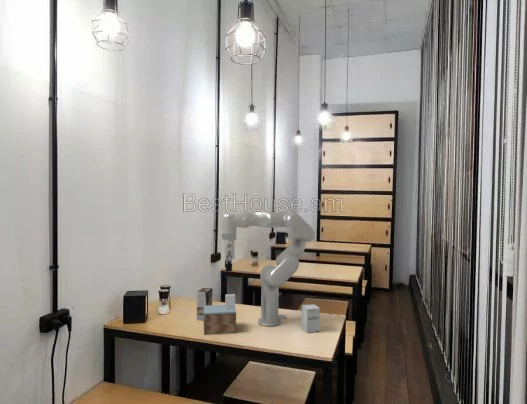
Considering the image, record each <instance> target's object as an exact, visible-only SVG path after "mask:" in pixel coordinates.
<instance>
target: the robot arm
mask: <svg viewBox="0 0 527 404" xmlns="http://www.w3.org/2000/svg"><path fill="white" fill-rule="evenodd" d="M221 219H222V220H221V221H222V225H221V226H222V227H221V229H222V230H221V241H223V253H224V254H223V255H224V268H225V272H226V273H227V272H231V273H232V271H233V261H232V260H235V241H236V240H237V228H243V229H246V228H249V227H261V228H271V229H272V228H290V229H291V230H292V240H291V243H290V244H289V245H288V246H287V247H286V248H285V249H284V250H283V251H281V253H280V254H278V255H277V257H276V259H275V264H276V266H274V265H271V264H265V266H263V267H262V268H261V270H260V285H261V290H260V291H261V292H260V293H261V294H260V299H261V301H260V303H261V304H260V318H259V319H257V323H258V324H259V325H261V326H264V327H276V326H279V325H280V324H282V321H281V320H287V319H288V317H287V315H284V314H279V287H280V286H283V284H285V283H286V282H287V281H288V280H289V279H290V278H292V276H293V275H294V274H295V273H297V271H298V269H299V266H300V260H299V258H300V257H301V256H302V255H303V253H304V252H305V249H306V244H307V243H309V242H312V241H313V240H314V239H315V235H316V234H315V230H314V229H313V227H312V226H311V225H310V224H309V223H308V222H306V221H305V220H306V219H305V220H304V219H303V217H302V216H301V215H300V214H298V213H297V212H291V211H262V212H238V213H236V214H235V213H224V214H223V215H222V218H221Z"/></svg>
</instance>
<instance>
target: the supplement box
mask: <svg viewBox="0 0 527 404" xmlns="http://www.w3.org/2000/svg"><path fill="white" fill-rule="evenodd" d="M320 313H321V308H320V307H319V306H318V305H316V304H315V303H314V304H313V303H312V304H301V330H302V331H304V332H305V333H306V334H309V333H317V332H316V331H319V332H320V324H321V323H320V320H321V319H320V317H321V314H320Z"/></svg>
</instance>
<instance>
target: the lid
mask: <svg viewBox="0 0 527 404" xmlns="http://www.w3.org/2000/svg"><path fill="white" fill-rule="evenodd" d="M224 297H225V299H224V301H225V302H224V304H212V305H206V306H204V315H210V314H231V313H236V314H237V310H236V294H235V293H233V294H225V296H224Z"/></svg>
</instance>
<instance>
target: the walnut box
mask: <svg viewBox="0 0 527 404" xmlns="http://www.w3.org/2000/svg"><path fill="white" fill-rule="evenodd" d="M236 333H237V312H236V313H231V314H210V315H204V320H203V334H204V336H206V335H208V336H209V335H222V334H226V335H227V334H236Z"/></svg>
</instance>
